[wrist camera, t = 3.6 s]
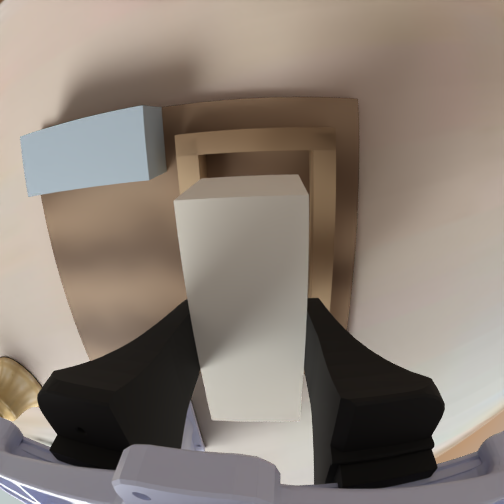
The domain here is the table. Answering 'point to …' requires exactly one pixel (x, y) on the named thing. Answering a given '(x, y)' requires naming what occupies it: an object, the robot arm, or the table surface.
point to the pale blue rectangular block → (95, 151)
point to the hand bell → (16, 389)
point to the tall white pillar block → (247, 291)
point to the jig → (182, 178)
